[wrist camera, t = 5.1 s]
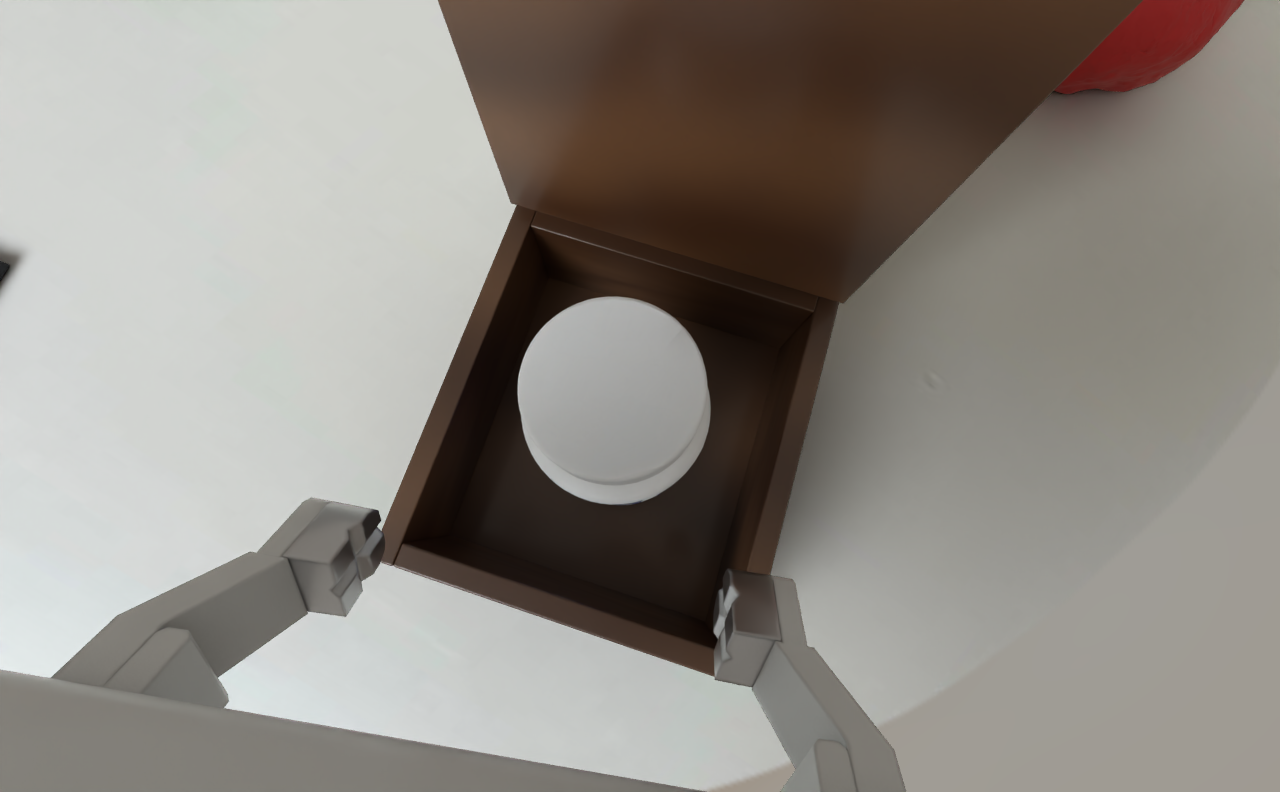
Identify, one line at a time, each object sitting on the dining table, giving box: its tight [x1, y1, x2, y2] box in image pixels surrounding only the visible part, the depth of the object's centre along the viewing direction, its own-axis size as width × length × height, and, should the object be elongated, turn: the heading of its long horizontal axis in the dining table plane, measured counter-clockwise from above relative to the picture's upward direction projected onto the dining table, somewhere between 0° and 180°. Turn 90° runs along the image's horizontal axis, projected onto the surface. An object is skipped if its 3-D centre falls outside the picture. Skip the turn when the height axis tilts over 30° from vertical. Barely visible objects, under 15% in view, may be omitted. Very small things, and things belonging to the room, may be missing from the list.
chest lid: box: [438, 0, 1143, 303], centre depth 12 cm, size 14×13×5 cm
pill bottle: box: [518, 296, 711, 505], centre depth 17 cm, size 6×6×10 cm
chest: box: [381, 205, 839, 685], centre depth 20 cm, size 14×13×5 cm
